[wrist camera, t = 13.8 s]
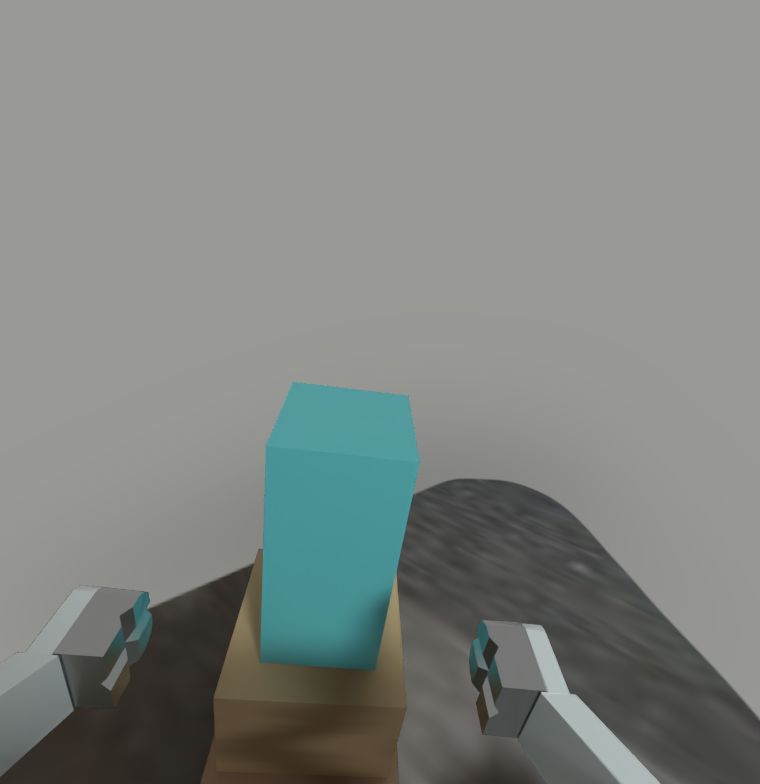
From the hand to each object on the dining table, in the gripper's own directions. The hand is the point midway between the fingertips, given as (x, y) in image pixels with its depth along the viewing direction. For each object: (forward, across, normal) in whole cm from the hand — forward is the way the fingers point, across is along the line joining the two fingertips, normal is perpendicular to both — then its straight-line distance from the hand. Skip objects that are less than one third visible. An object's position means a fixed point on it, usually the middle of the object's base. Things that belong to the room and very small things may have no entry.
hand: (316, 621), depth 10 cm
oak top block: (+6, 0, +12) cm, 13 cm away
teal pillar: (+6, 0, +7) cm, 9 cm away
